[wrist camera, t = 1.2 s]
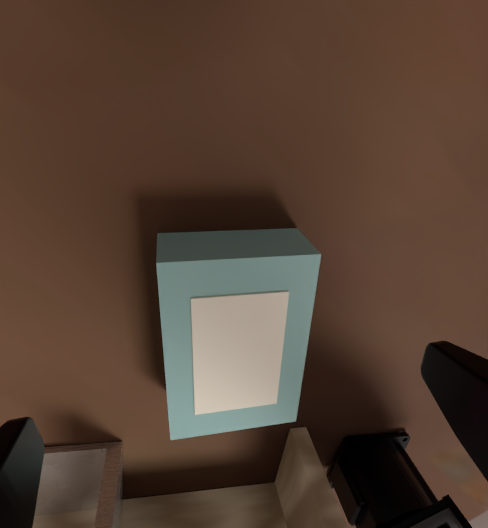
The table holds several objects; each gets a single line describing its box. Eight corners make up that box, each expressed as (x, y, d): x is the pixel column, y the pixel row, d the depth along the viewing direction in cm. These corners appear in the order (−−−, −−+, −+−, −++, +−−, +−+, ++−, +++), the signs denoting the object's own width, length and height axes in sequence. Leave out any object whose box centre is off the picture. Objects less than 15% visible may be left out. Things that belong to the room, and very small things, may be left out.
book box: (295, 225, 21) (322, 254, 17) (278, 376, 26) (296, 422, 23) (157, 230, 19) (156, 264, 16) (169, 390, 25) (170, 441, 21)
